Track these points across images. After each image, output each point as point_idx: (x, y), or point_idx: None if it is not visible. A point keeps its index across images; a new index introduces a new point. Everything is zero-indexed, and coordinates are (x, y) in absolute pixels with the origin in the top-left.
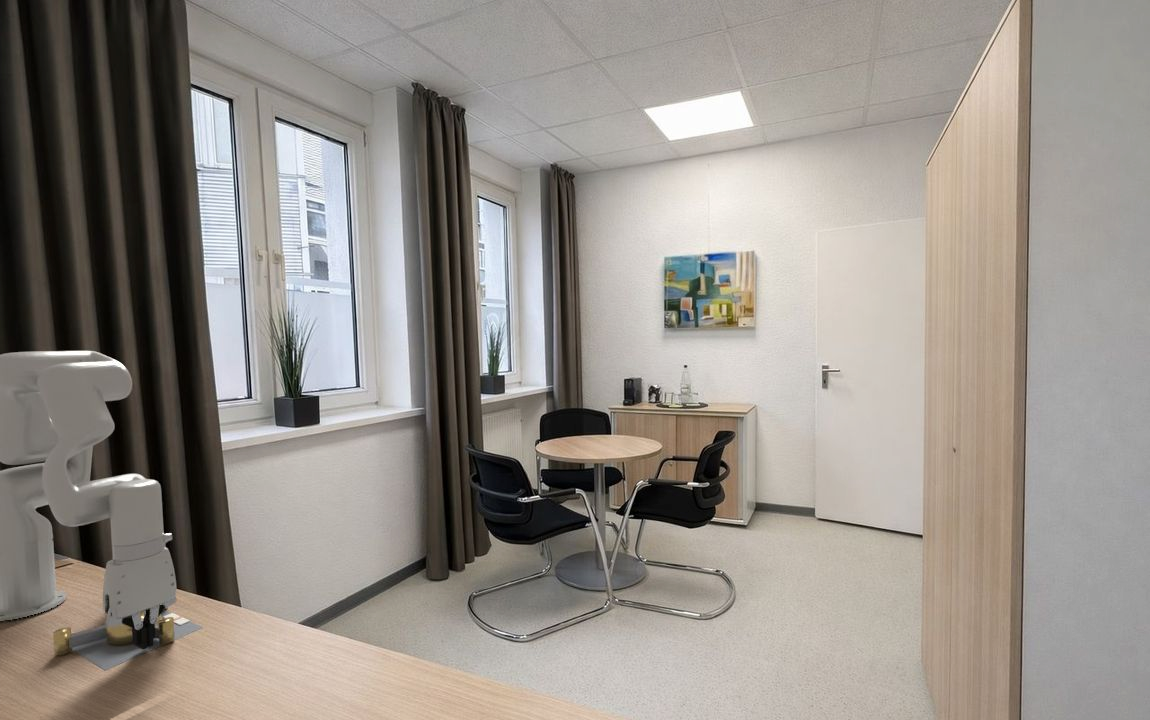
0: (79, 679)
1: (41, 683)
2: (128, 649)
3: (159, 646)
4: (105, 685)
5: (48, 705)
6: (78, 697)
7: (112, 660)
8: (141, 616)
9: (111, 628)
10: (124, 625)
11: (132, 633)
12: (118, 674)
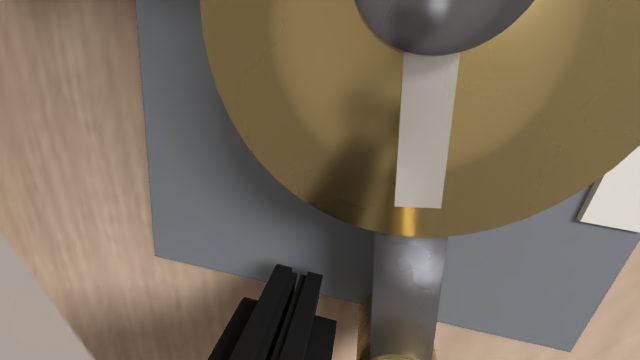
0: (110, 171)
1: (7, 39)
2: (283, 187)
3: (355, 302)
4: (151, 295)
5: (21, 233)
6: (85, 277)
7: (199, 213)
8: (486, 57)
9: (216, 27)
10: (297, 92)
11: (217, 344)
12: (199, 277)
